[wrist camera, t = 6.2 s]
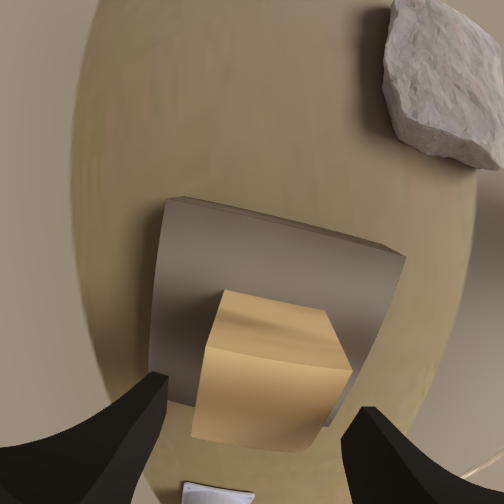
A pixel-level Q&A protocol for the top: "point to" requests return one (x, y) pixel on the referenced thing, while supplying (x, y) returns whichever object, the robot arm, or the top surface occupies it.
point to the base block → (259, 283)
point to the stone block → (444, 84)
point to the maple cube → (268, 375)
